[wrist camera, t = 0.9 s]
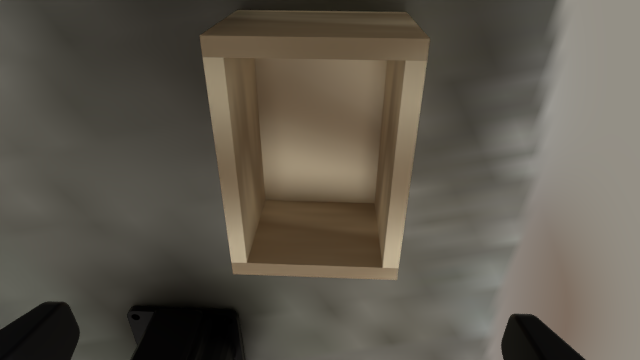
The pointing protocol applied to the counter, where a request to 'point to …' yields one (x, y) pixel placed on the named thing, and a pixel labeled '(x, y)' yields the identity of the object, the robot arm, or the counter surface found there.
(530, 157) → the counter surface
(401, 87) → the birch crate
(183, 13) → the counter surface
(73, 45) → the counter surface
